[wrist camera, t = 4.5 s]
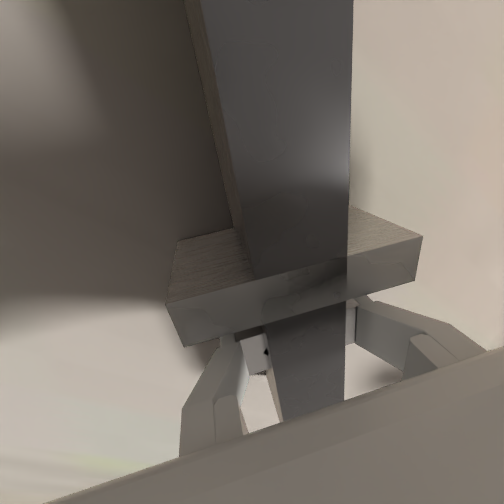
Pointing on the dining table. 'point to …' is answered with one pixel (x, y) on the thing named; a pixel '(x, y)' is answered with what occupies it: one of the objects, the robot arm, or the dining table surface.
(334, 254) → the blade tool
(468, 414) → the robot arm
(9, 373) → the dining table surface
